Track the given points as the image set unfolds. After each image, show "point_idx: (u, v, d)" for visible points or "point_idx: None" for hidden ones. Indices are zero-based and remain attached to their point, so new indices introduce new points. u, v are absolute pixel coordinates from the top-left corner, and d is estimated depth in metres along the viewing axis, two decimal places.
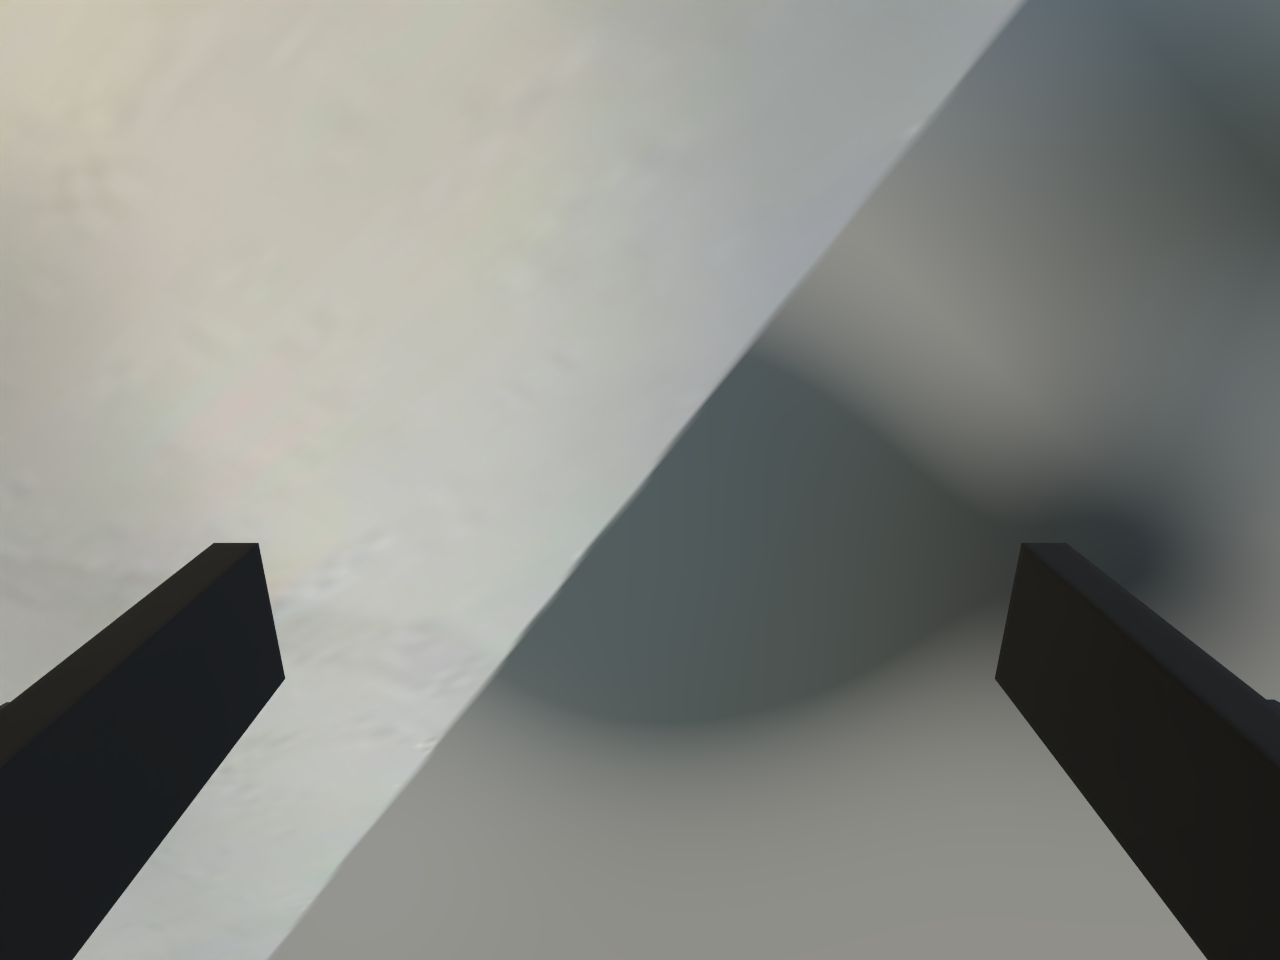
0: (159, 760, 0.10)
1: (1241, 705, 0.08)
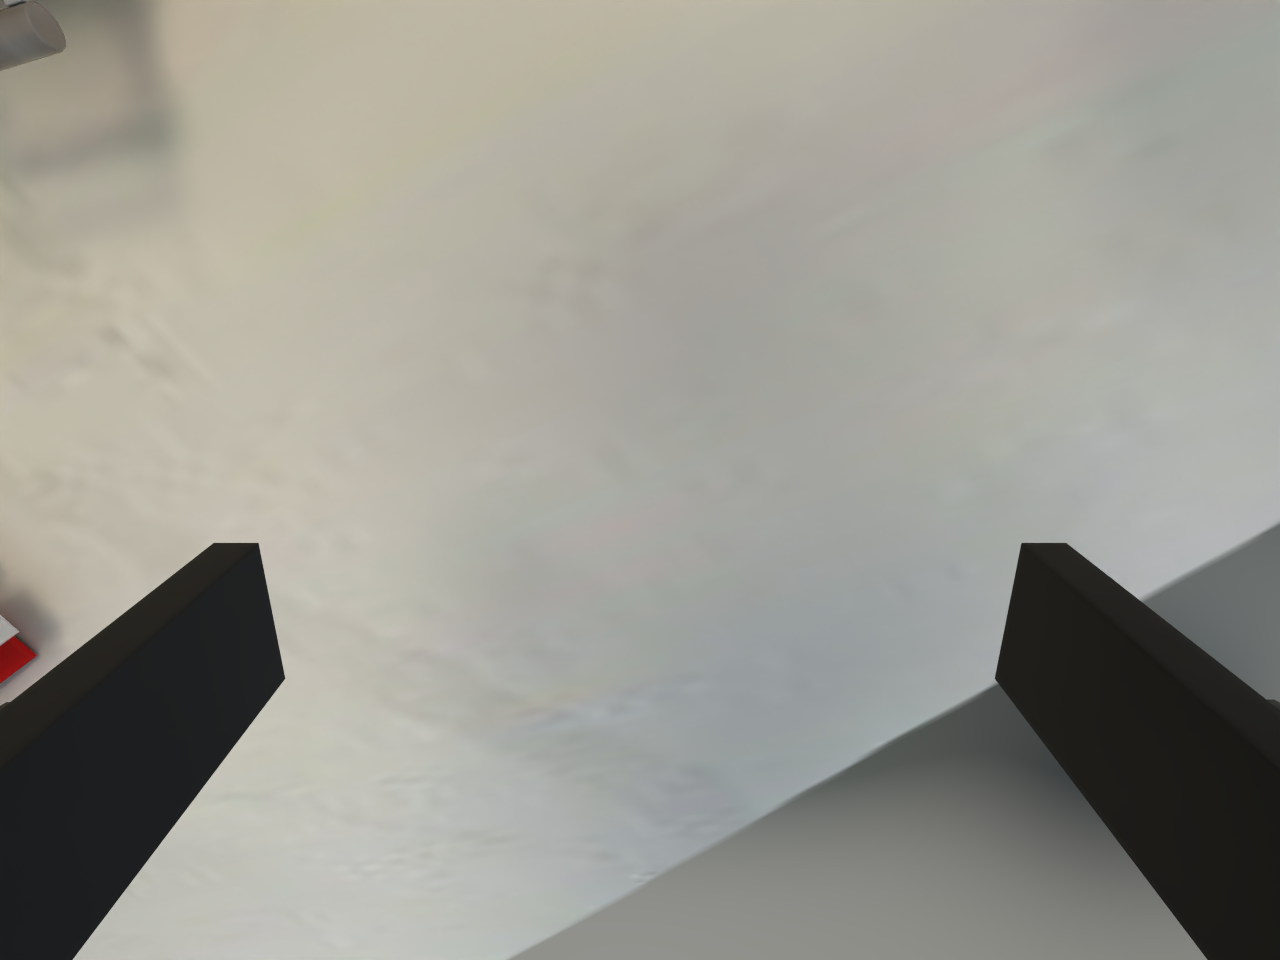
0: (159, 760, 0.10)
1: (1241, 705, 0.08)
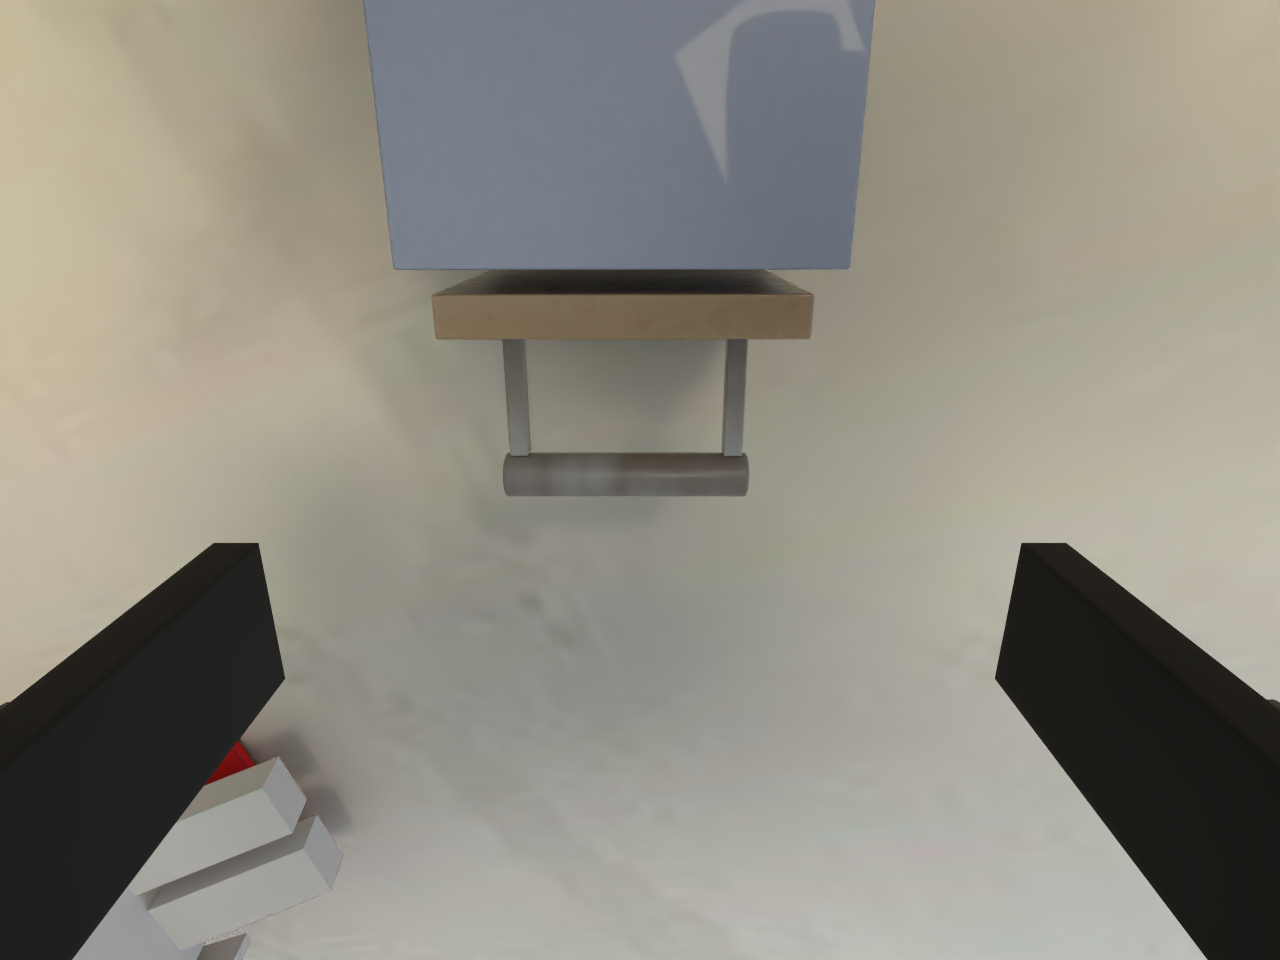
0: (159, 760, 0.10)
1: (1241, 705, 0.08)
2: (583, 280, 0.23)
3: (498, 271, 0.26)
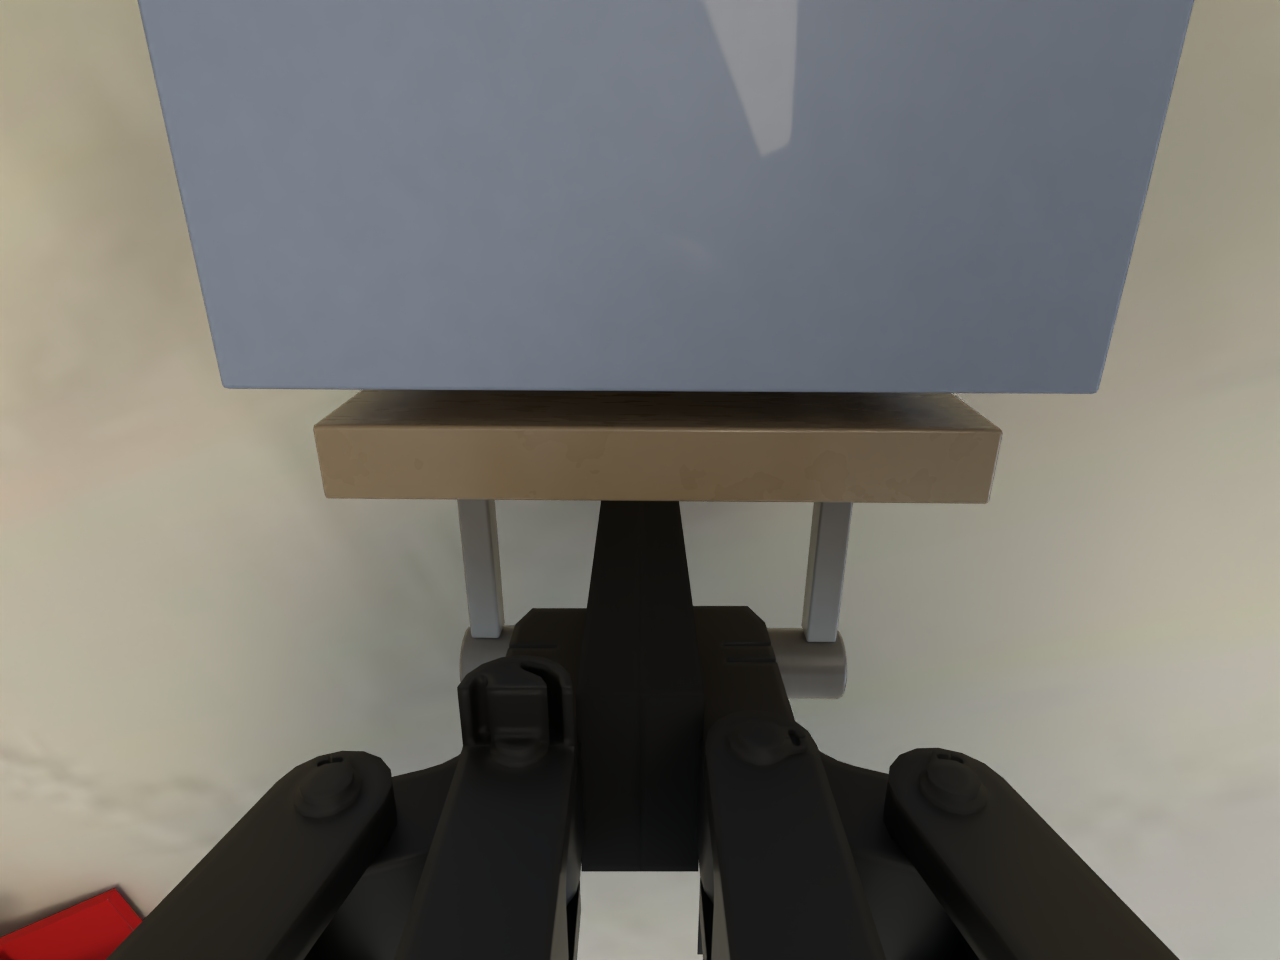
0: None
1: (667, 601, 0.11)
2: None
3: None
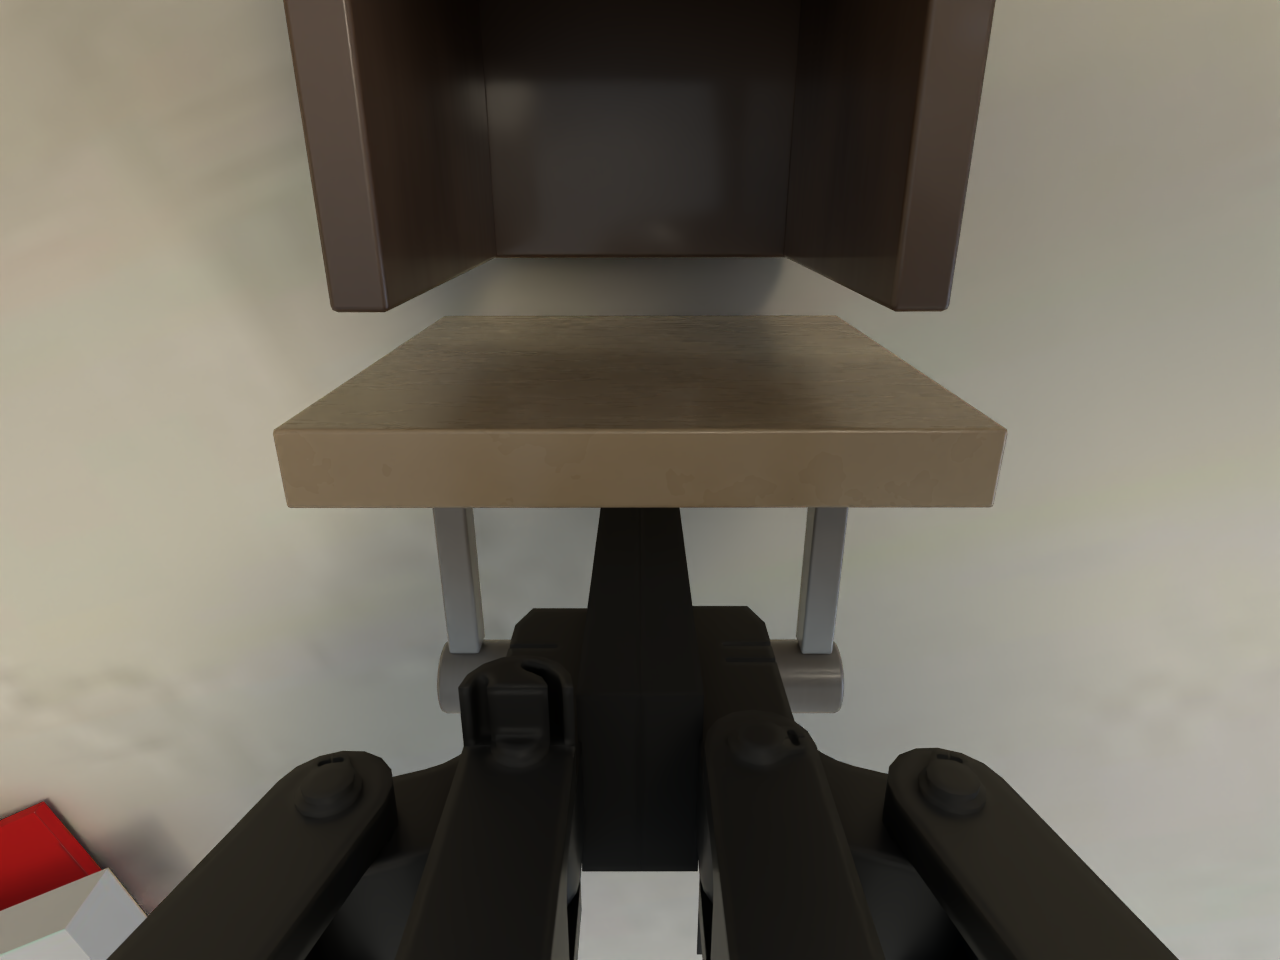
0: None
1: (666, 601, 0.11)
2: (569, 365, 0.14)
3: (439, 330, 0.17)
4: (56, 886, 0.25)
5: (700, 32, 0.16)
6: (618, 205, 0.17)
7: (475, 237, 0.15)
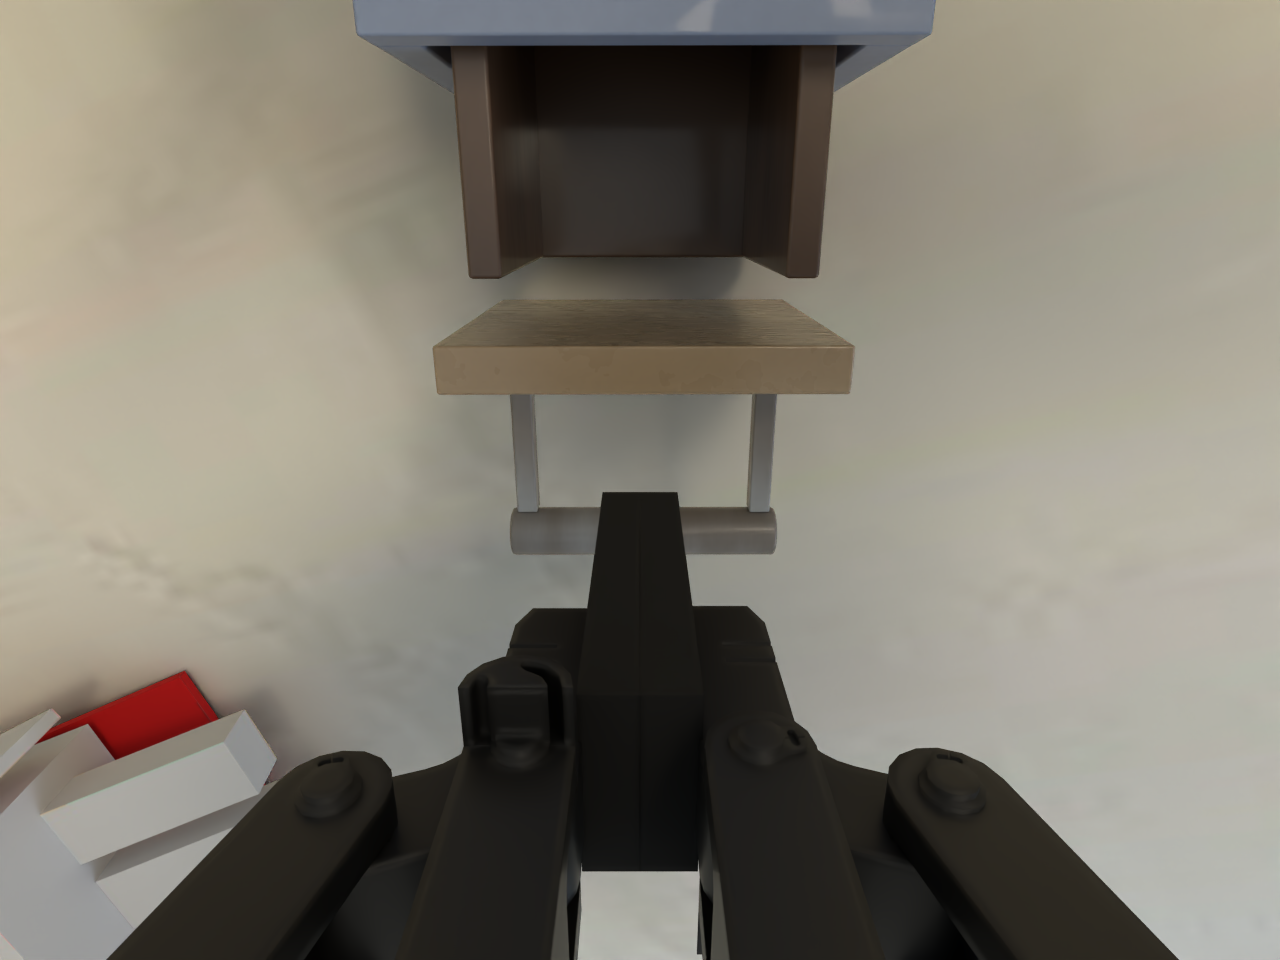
0: None
1: (666, 600, 0.11)
2: (597, 322, 0.21)
3: (503, 307, 0.25)
4: None
5: (682, 106, 0.23)
6: (627, 221, 0.24)
7: (533, 241, 0.23)
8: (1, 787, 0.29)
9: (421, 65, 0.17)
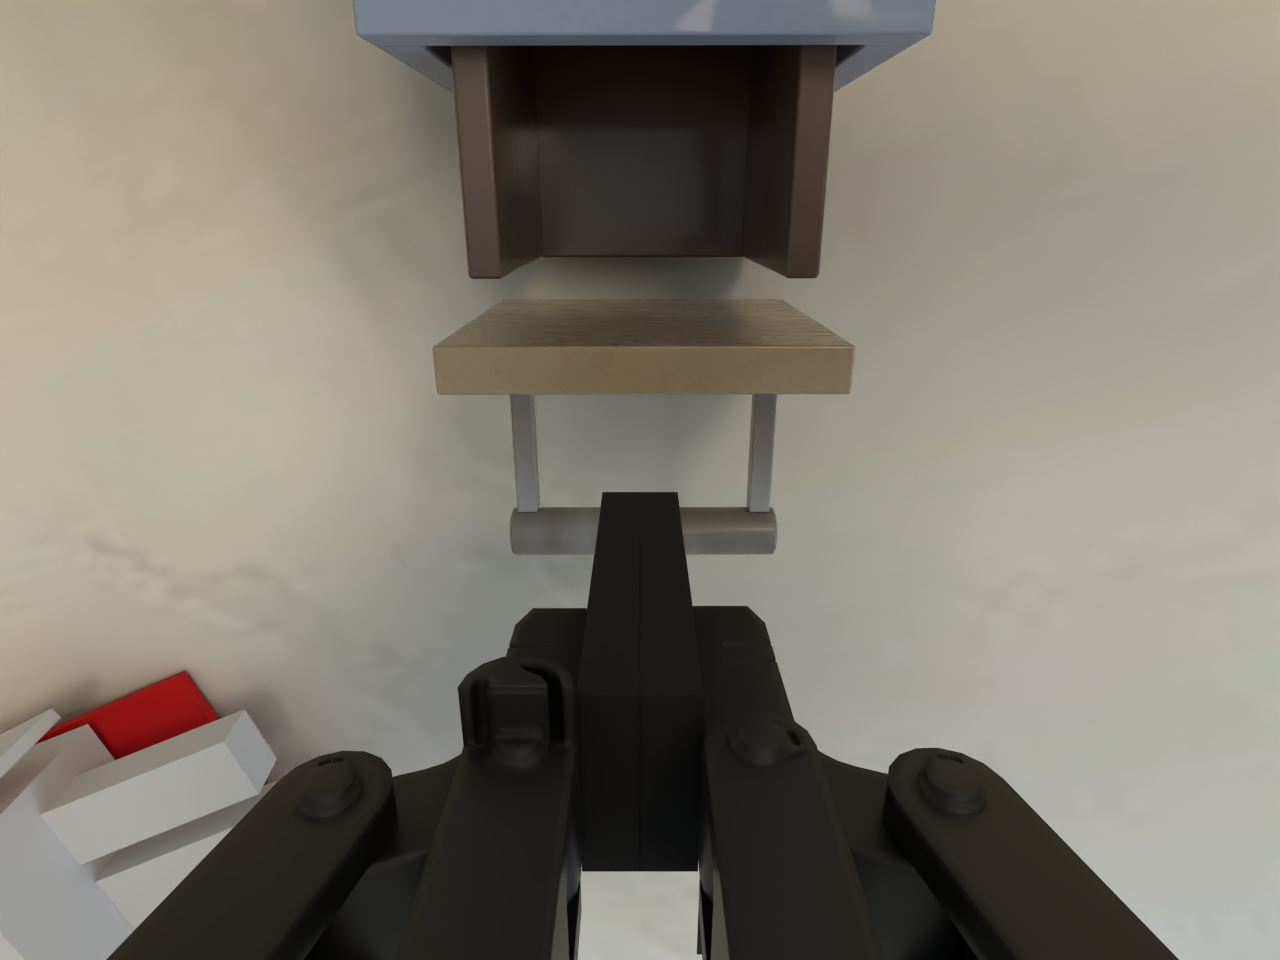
0: None
1: (666, 600, 0.11)
2: (597, 322, 0.21)
3: (503, 307, 0.25)
4: None
5: (682, 106, 0.23)
6: (627, 221, 0.24)
7: (533, 241, 0.23)
8: (1, 787, 0.29)
9: (421, 65, 0.17)
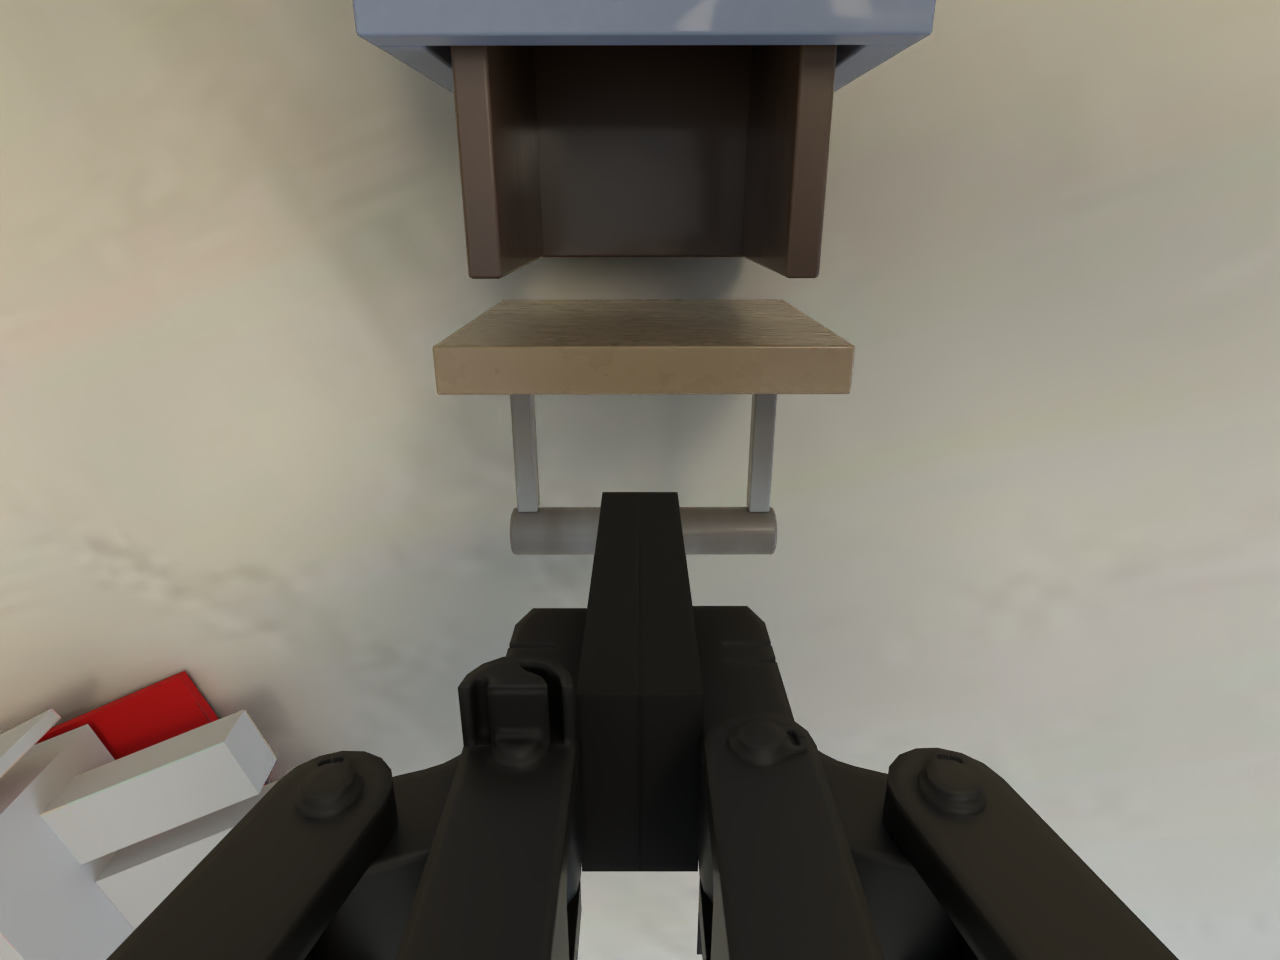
0: None
1: (666, 600, 0.11)
2: (597, 322, 0.21)
3: (503, 307, 0.25)
4: None
5: (682, 106, 0.23)
6: (627, 221, 0.24)
7: (533, 241, 0.23)
8: (1, 787, 0.29)
9: (421, 65, 0.17)
